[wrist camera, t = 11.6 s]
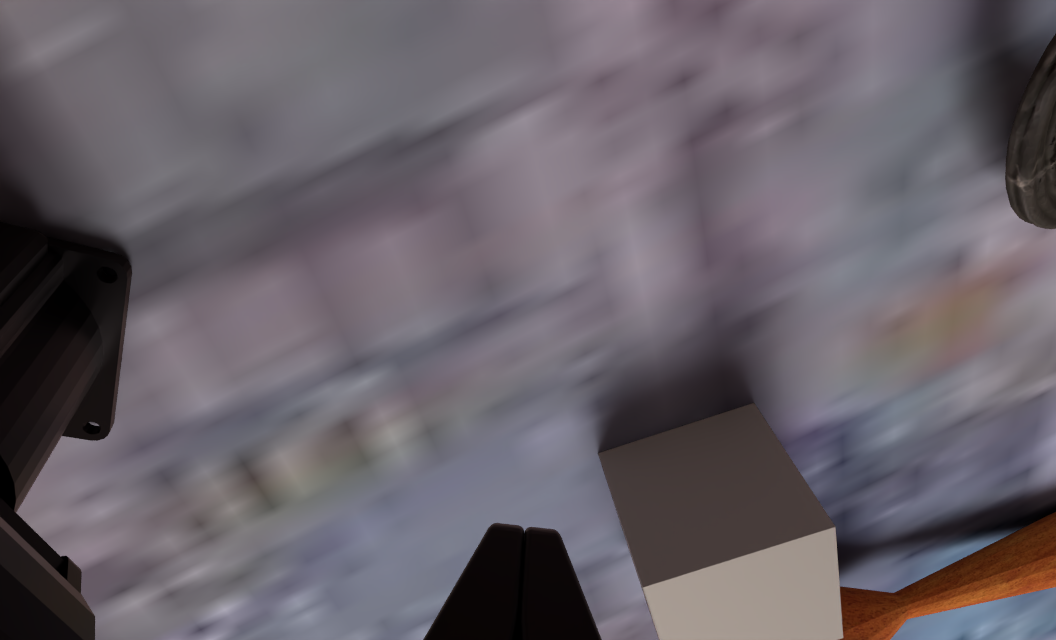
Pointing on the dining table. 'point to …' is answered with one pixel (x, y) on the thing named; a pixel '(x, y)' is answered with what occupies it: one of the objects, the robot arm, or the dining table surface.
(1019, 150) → the milk frother
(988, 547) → the kendama
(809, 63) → the dining table surface
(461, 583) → the robot arm
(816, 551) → the beige block
